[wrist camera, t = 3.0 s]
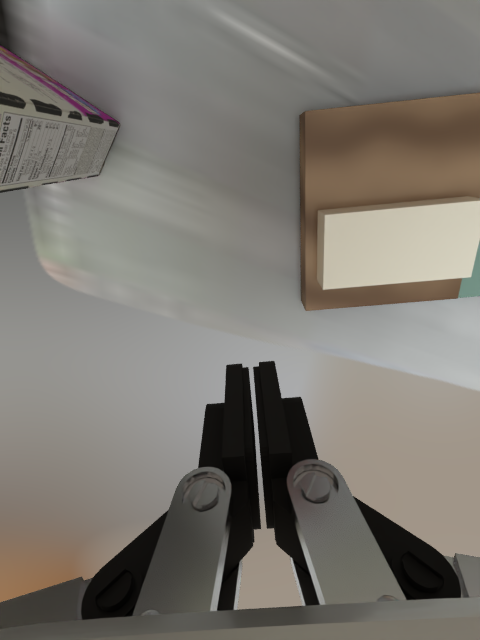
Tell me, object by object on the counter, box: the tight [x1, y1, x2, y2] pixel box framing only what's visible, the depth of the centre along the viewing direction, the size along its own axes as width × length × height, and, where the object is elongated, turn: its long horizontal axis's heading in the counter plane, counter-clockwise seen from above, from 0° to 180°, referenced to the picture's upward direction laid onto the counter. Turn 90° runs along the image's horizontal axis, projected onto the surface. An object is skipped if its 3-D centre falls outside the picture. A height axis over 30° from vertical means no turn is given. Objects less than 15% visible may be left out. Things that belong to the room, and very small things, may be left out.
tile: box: [317, 196, 480, 290], centre depth 27 cm, size 6×12×2 cm, turn 95°
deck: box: [300, 93, 480, 311], centre depth 28 cm, size 16×14×2 cm
